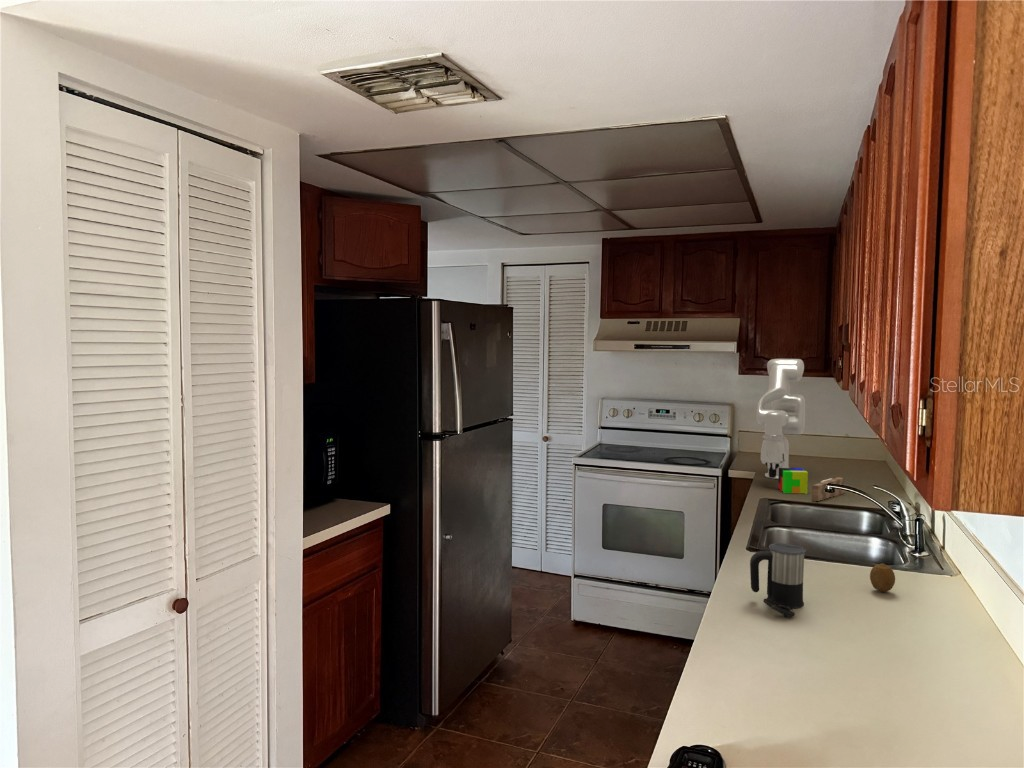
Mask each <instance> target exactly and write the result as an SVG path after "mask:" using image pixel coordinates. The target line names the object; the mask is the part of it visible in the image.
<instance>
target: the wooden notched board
mask: <svg viewBox="0 0 1024 768" xmlns="http://www.w3.org/2000/svg"><path fill="white" fill-rule="evenodd" d="M828 483H831V484H840V485H845V477H840V476H837V477H834V478H828V479H824V480H821V481H820V482H819V483H815V484H812V487H811V502H813V501H819V500H823V499H826V498H829V497H831V498H834V497H837V496H840V495H843V494H844V492H845V491H844V490H845V489H844V490H841V489H835V492H834V493H827V492H825V490H824V488H825V486H826V484H828ZM833 496H834V497H833ZM829 499H830V498H829ZM826 500H827V499H826ZM823 501H824V500H823Z"/></svg>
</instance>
